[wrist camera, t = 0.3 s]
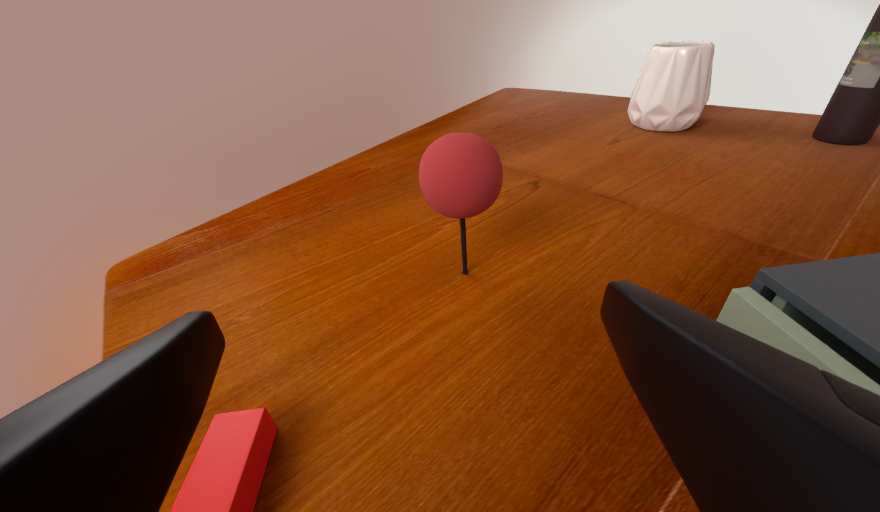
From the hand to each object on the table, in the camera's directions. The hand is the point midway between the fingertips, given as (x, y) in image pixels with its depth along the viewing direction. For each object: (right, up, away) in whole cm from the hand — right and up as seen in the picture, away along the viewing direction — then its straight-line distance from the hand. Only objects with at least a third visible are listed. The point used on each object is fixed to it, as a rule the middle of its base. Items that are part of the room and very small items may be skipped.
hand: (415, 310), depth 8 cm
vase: (+49, +30, +68) cm, 89 cm away
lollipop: (+3, -1, +31) cm, 31 cm away
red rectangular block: (-13, -13, +14) cm, 23 cm away
